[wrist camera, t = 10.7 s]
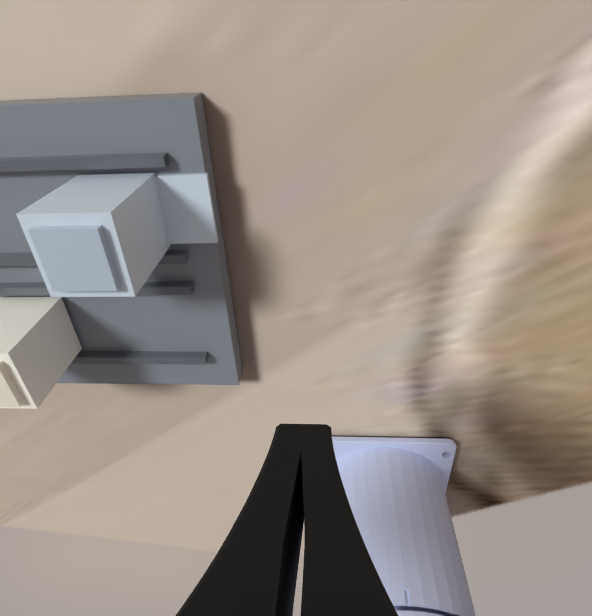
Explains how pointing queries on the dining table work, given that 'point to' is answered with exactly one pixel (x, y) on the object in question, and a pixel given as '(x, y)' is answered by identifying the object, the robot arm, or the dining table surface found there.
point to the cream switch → (33, 348)
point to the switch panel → (178, 219)
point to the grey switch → (97, 235)
